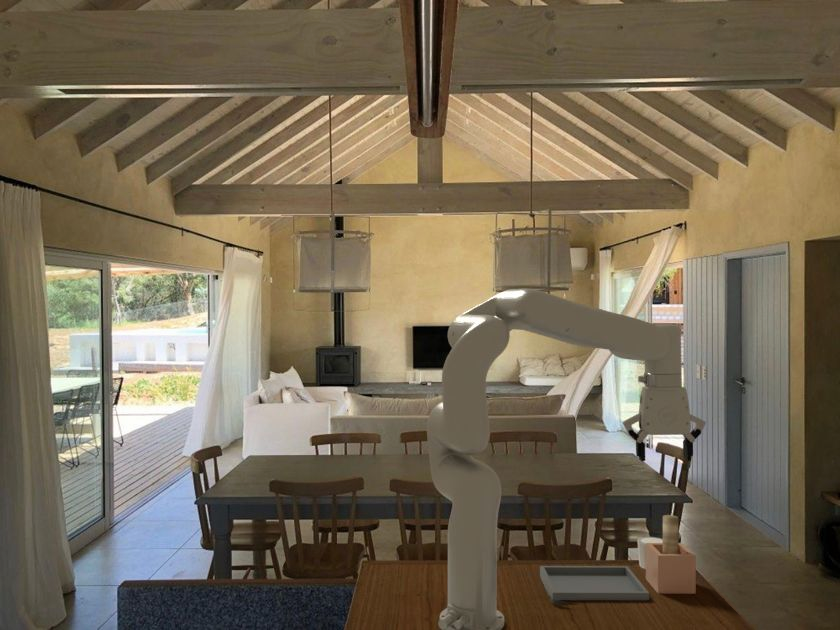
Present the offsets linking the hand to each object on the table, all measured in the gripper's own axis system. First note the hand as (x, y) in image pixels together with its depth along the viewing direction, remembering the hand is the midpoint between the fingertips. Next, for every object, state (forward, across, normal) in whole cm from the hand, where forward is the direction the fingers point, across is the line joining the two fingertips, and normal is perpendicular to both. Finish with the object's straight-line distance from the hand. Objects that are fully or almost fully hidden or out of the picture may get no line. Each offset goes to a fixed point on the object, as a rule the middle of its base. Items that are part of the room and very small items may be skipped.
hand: (664, 459), depth 153 cm
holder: (+29, +1, 0) cm, 29 cm away
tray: (+28, -16, -1) cm, 33 cm away
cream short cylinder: (+29, 0, +12) cm, 31 cm away
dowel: (+28, +1, 0) cm, 28 cm away
